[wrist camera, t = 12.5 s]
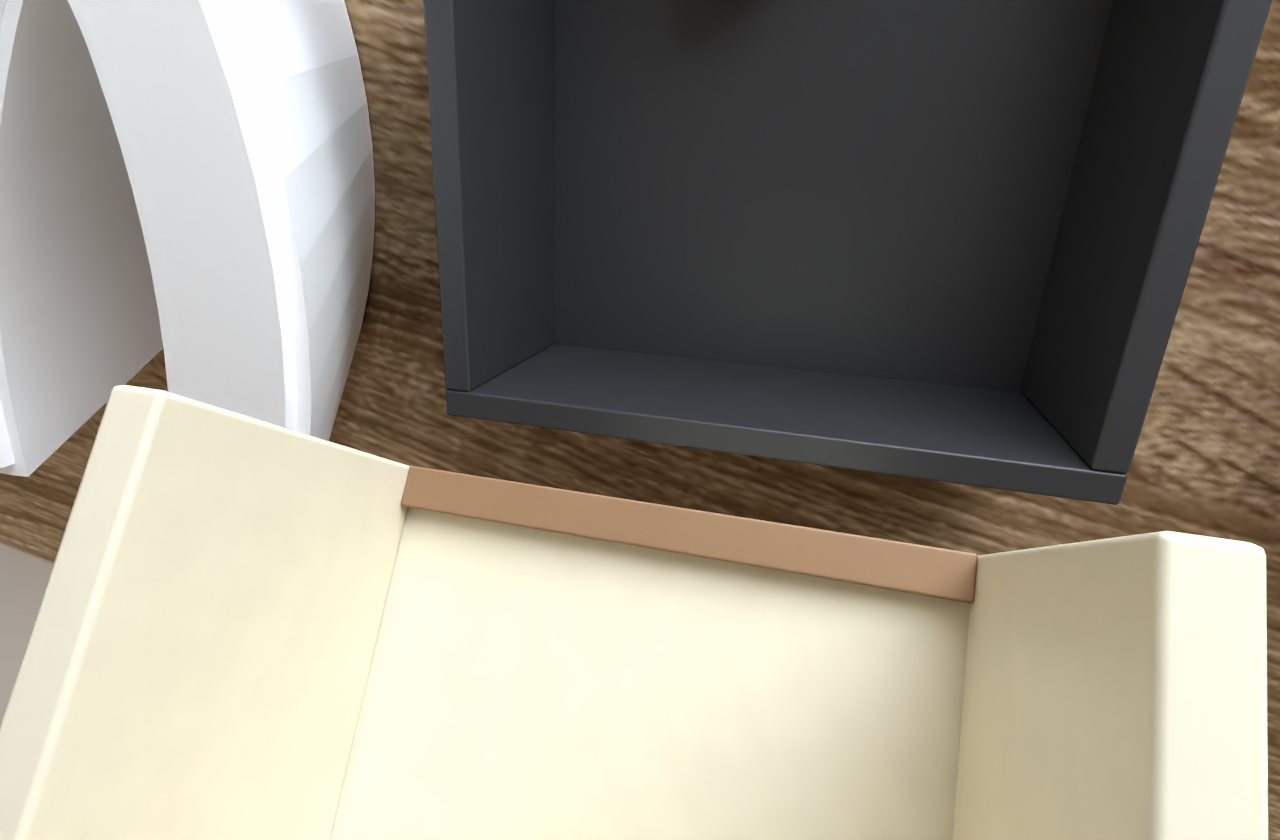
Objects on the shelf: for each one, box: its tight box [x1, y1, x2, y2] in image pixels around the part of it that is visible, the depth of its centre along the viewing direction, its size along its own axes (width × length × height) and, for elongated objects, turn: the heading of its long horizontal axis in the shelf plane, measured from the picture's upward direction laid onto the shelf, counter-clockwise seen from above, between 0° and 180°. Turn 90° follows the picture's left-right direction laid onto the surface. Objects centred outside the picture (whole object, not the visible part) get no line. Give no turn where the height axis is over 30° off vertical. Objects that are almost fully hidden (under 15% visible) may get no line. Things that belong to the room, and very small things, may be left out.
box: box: [0, 385, 1268, 840], centre depth 9 cm, size 5×6×12 cm
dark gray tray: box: [423, 0, 1272, 505], centre depth 14 cm, size 15×13×6 cm
